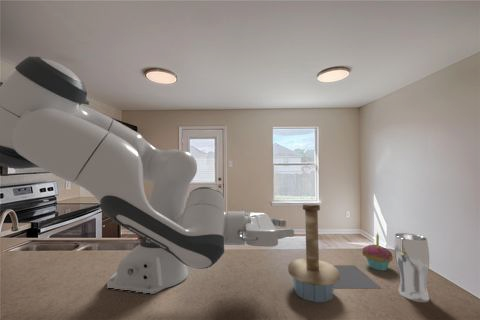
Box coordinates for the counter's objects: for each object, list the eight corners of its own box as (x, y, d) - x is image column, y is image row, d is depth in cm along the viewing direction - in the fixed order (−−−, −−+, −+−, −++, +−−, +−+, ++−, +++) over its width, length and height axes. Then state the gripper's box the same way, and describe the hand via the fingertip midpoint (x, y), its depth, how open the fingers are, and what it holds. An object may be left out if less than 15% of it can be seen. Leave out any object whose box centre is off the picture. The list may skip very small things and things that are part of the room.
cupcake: (397, 275, 64) (395, 235, 65) (366, 271, 67) (364, 233, 68) (388, 264, 73) (386, 228, 73) (360, 260, 75) (358, 226, 76)
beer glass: (439, 306, 50) (435, 241, 51) (405, 302, 51) (402, 240, 52) (420, 290, 57) (417, 233, 57) (391, 287, 58) (388, 232, 59)
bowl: (299, 303, 51) (299, 282, 52) (290, 281, 61) (290, 264, 62) (340, 303, 51) (339, 282, 52) (324, 281, 61) (324, 264, 61)
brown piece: (294, 285, 50) (292, 209, 51) (283, 262, 63) (282, 201, 64) (349, 285, 50) (346, 209, 51) (327, 262, 63) (325, 201, 64)
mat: (330, 289, 57) (330, 288, 57) (313, 266, 71) (313, 265, 71) (382, 289, 57) (382, 288, 57) (354, 266, 71) (354, 265, 71)
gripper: (237, 225, 47) (299, 225, 47) (238, 209, 68) (281, 209, 68) (238, 254, 47) (299, 253, 47) (239, 229, 67) (282, 228, 67)
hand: (289, 227), depth 57 cm, fingers open, 8 cm apart
